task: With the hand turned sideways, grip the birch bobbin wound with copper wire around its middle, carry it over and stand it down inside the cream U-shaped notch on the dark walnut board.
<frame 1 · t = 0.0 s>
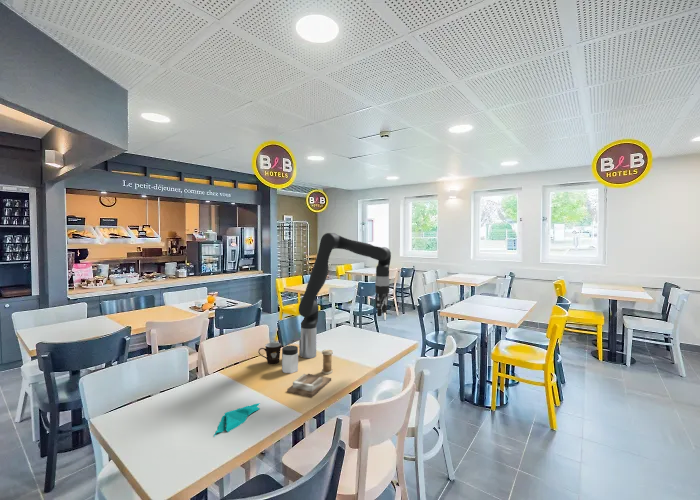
hand: (381, 314, 182), 29 cm above the table, tool pointing down, fingers open, 8 cm apart
cloth: (237, 419, 131), on the table
coffee mug: (270, 362, 189), on the table
jar: (289, 370, 178), on the table
bobbin: (327, 372, 176), on the table
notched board: (310, 385, 160), on the table
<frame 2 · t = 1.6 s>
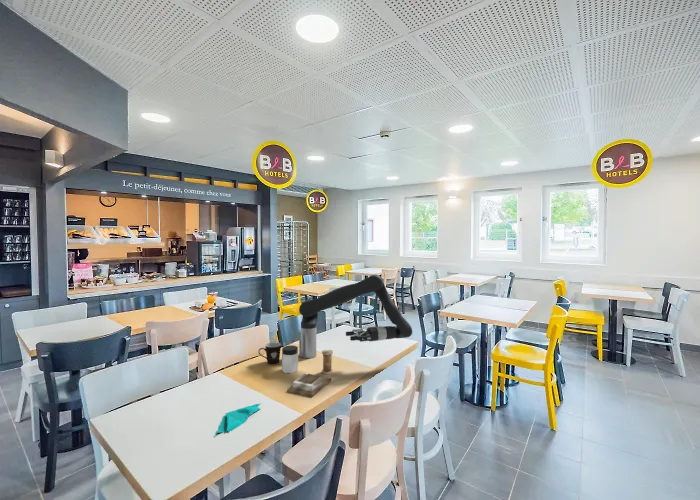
hand: (348, 336, 179), 18 cm above the table, tool horizontal, fingers open, 8 cm apart
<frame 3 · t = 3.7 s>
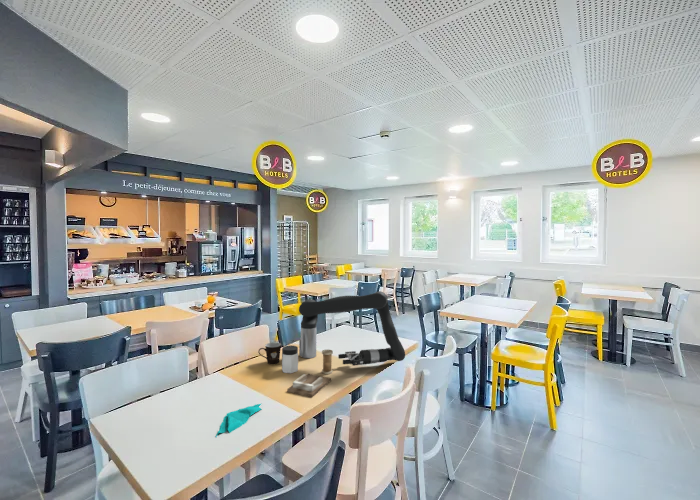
hand: (340, 359, 178), 6 cm above the table, tool horizontal, fingers open, 8 cm apart
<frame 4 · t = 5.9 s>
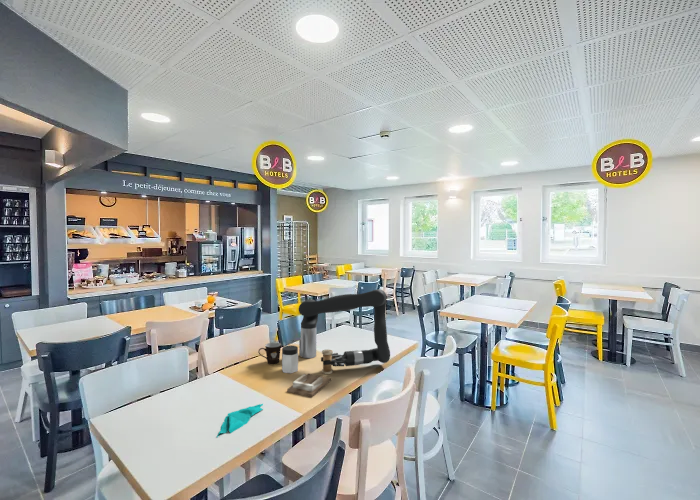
hand: (322, 361, 175), 6 cm above the table, tool horizontal, fingers closed on bobbin, 4 cm apart
bobbin: (327, 372, 176), on the table, touching gripper
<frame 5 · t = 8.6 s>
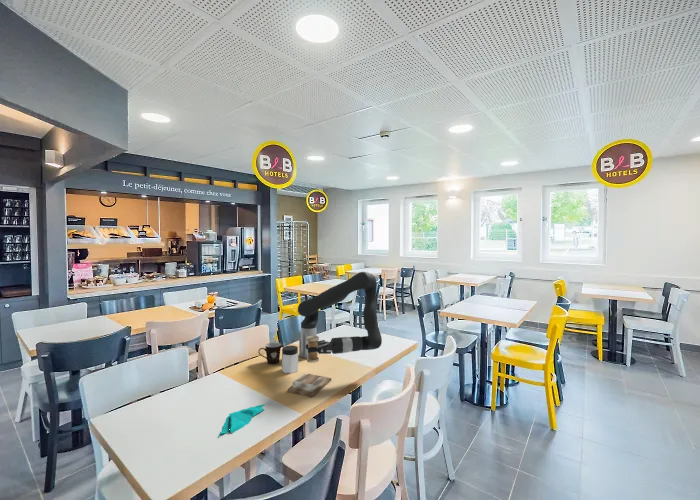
hand: (307, 348, 159), 18 cm above the table, tool horizontal, fingers closed on bobbin, 4 cm apart
bobbin: (312, 360, 160), point 12 cm above the table, touching gripper
when the fingers open (9 cm above the table, at t = 11.1 s): bobbin drops 1 cm, resting on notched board.
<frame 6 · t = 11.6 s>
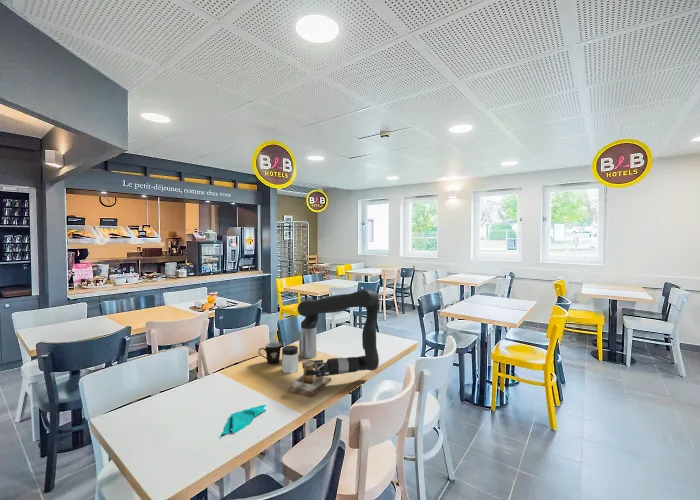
hand: (304, 369, 157), 9 cm above the table, tool horizontal, fingers open, 8 cm apart
bobbin: (308, 384, 158), point 1 cm above the table, touching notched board
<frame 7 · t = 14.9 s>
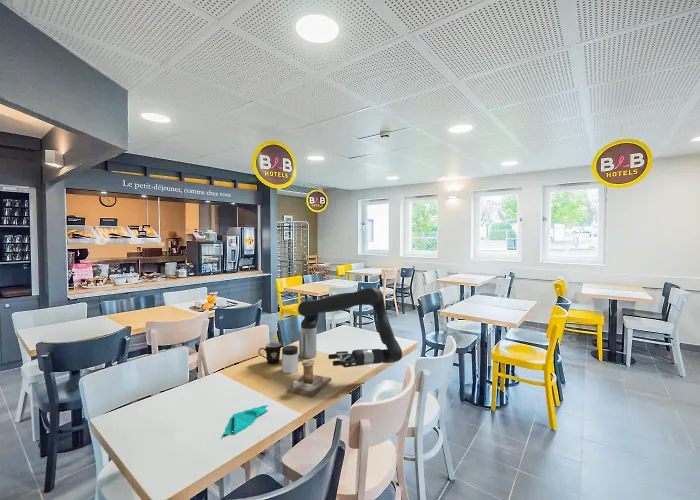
hand: (330, 360, 161), 12 cm above the table, tool horizontal, fingers open, 8 cm apart
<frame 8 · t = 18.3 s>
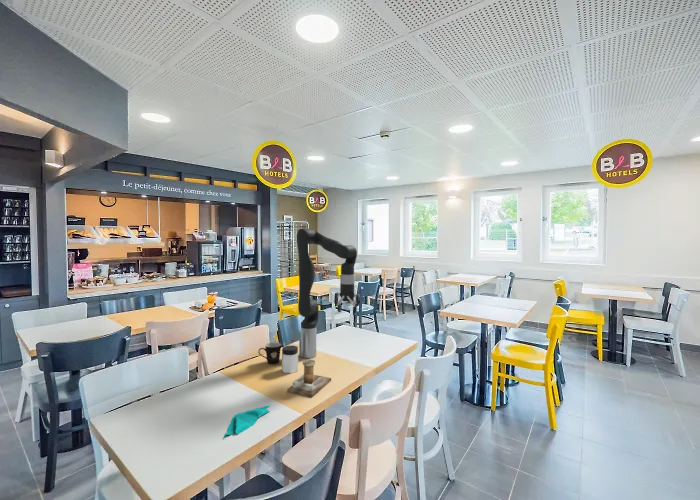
hand: (347, 312, 181), 30 cm above the table, tool pointing down, fingers open, 8 cm apart
at the end: bobbin 0.1 cm from the target spot on the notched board, point 1.3 cm above the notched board's base; bobbin tilted 2°; the gripper is holding nothing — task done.
